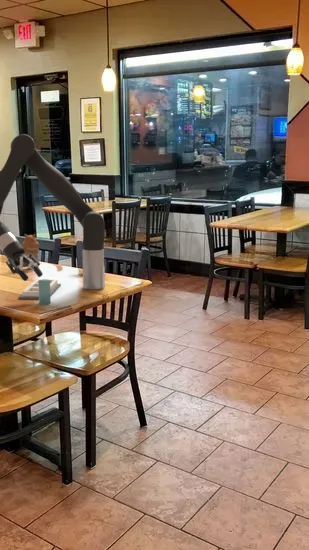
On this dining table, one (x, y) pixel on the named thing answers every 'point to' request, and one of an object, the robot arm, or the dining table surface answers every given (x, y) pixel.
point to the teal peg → (44, 291)
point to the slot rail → (37, 290)
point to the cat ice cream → (31, 246)
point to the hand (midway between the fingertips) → (34, 277)
